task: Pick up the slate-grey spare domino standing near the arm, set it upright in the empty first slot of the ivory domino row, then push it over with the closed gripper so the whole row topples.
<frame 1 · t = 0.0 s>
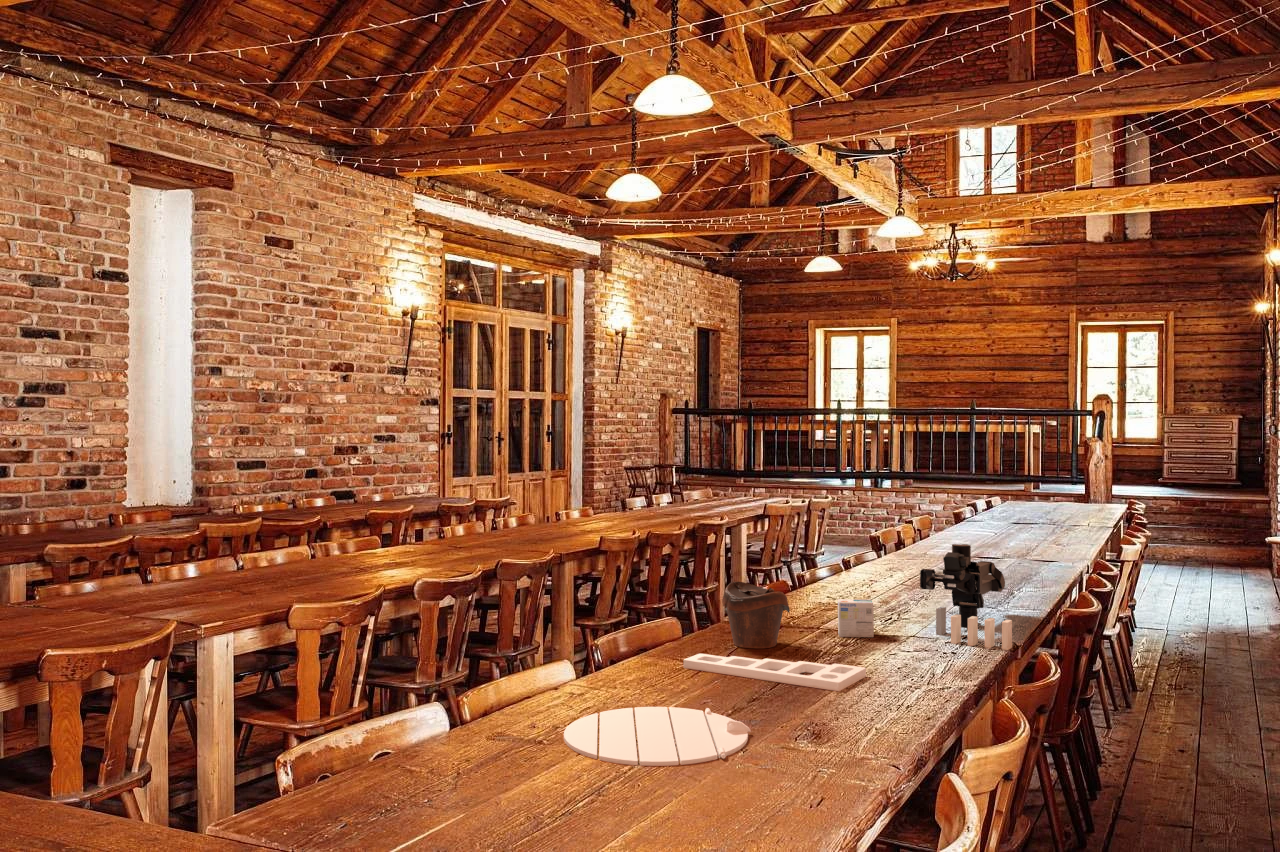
hand: (941, 584, 325), 17 cm above the table, tool horizontal, fingers open, 9 cm apart
domino 3: (972, 644, 318), on the table
domino 4: (989, 646, 316), on the table
light bulb box: (855, 635, 332), on the table
spare domino: (941, 633, 334), on the table
white grooved round board: (657, 738, 230), on the table
domino 2: (955, 642, 321), on the table
holder: (773, 674, 286), on the table
rusty bucket: (755, 645, 319), on the table
domino 5: (1006, 648, 313), on the table
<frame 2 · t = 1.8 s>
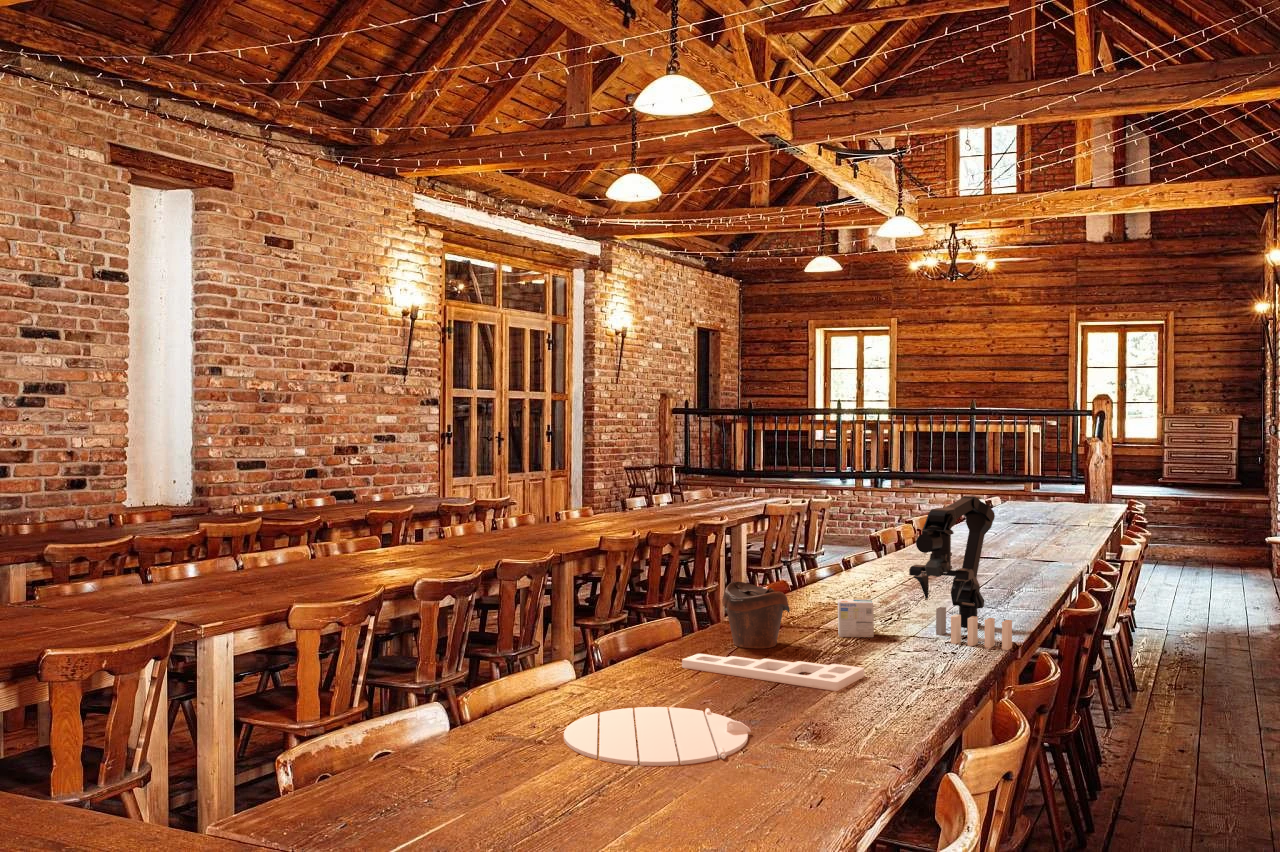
hand: (941, 599, 334), 10 cm above the table, tool pointing down, fingers open, 9 cm apart
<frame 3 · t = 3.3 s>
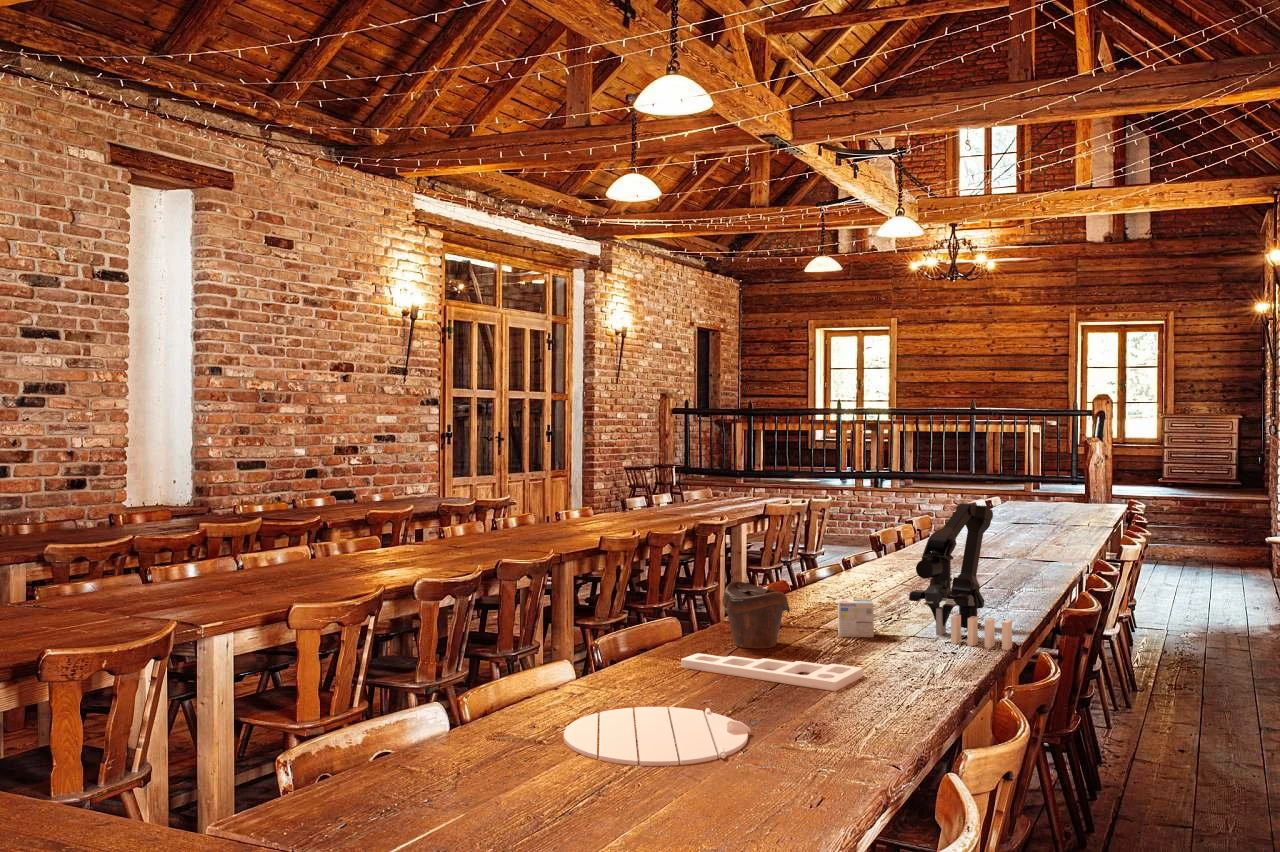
hand: (941, 625, 334), 3 cm above the table, tool pointing down, fingers closed on spare domino, 2 cm apart
spare domino: (941, 633, 334), on the table, touching gripper
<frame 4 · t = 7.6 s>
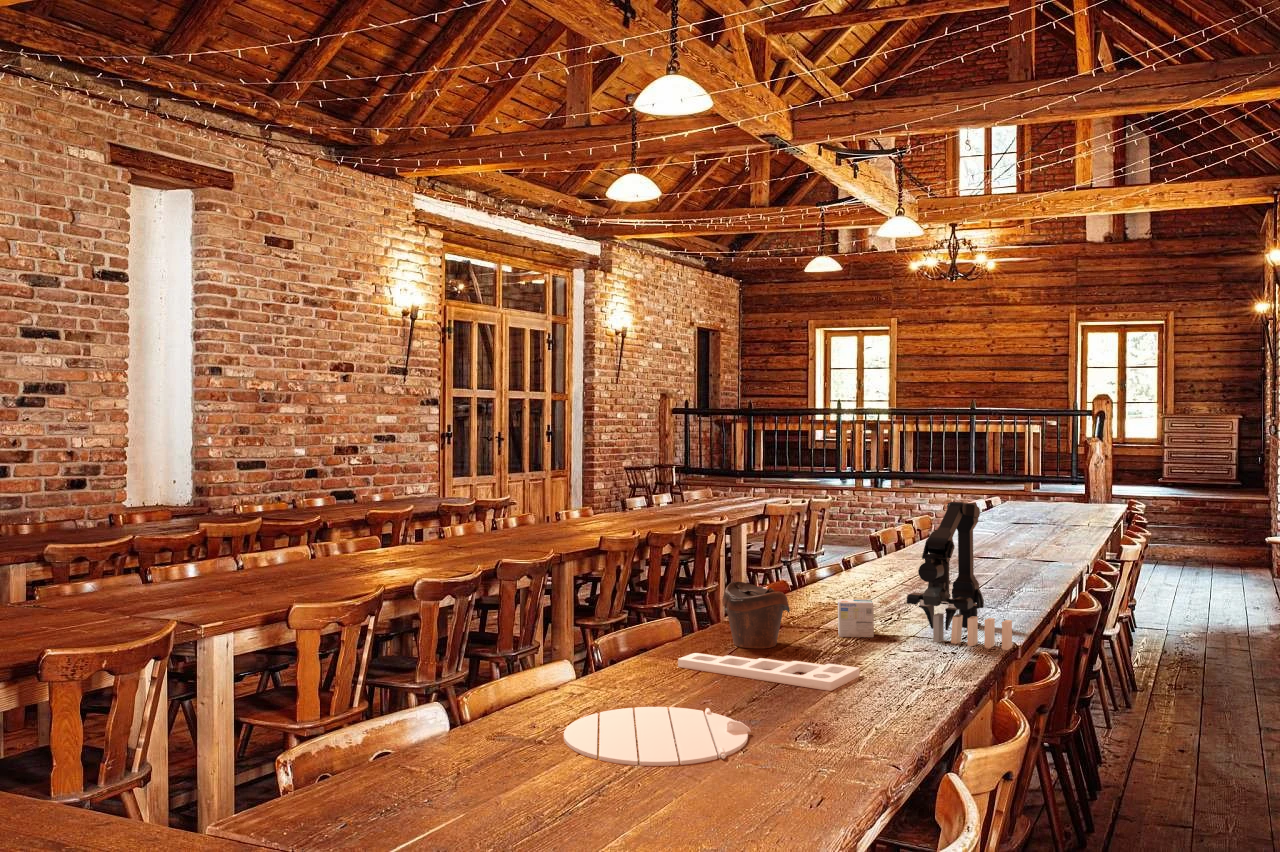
hand: (939, 629, 324), 3 cm above the table, tool pointing down, fingers open, 4 cm apart
spare domino: (938, 640, 323), on the table
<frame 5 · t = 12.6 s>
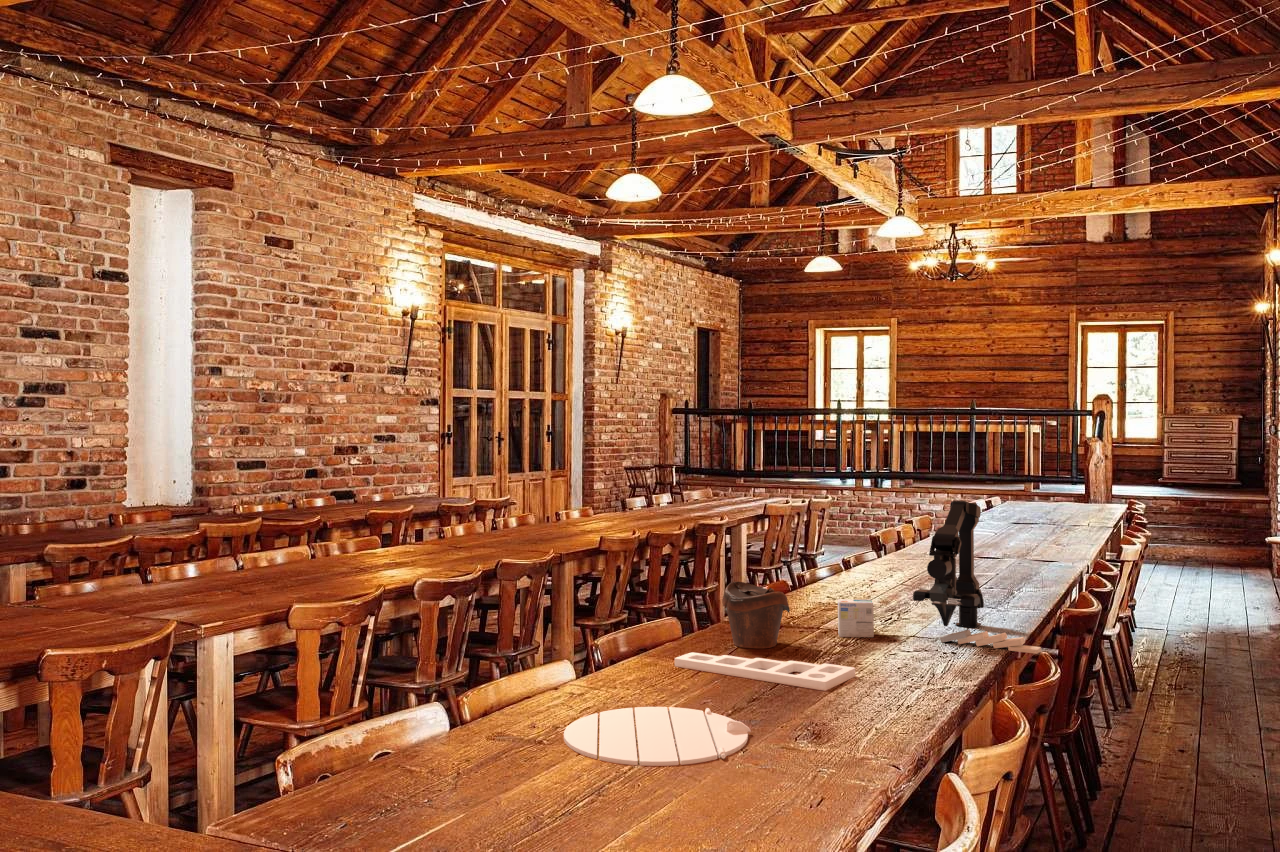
hand: (945, 626, 323), 5 cm above the table, tool pointing down, fingers closed
domino 3: (978, 642, 317), point 1 cm above the table, tilted 70°, touching domino 2, domino 4
domino 4: (995, 644, 315), point 1 cm above the table, tilted 77°, touching domino 3
spare domino: (942, 638, 323), point 1 cm above the table, tilted 72°, touching domino 2
domino 2: (960, 640, 321), point 1 cm above the table, tilted 71°, touching domino 3, spare domino
holder: (763, 673, 287), on the table
domino 5: (1010, 648, 312), on the table, tilted 90°
everything else where it was.
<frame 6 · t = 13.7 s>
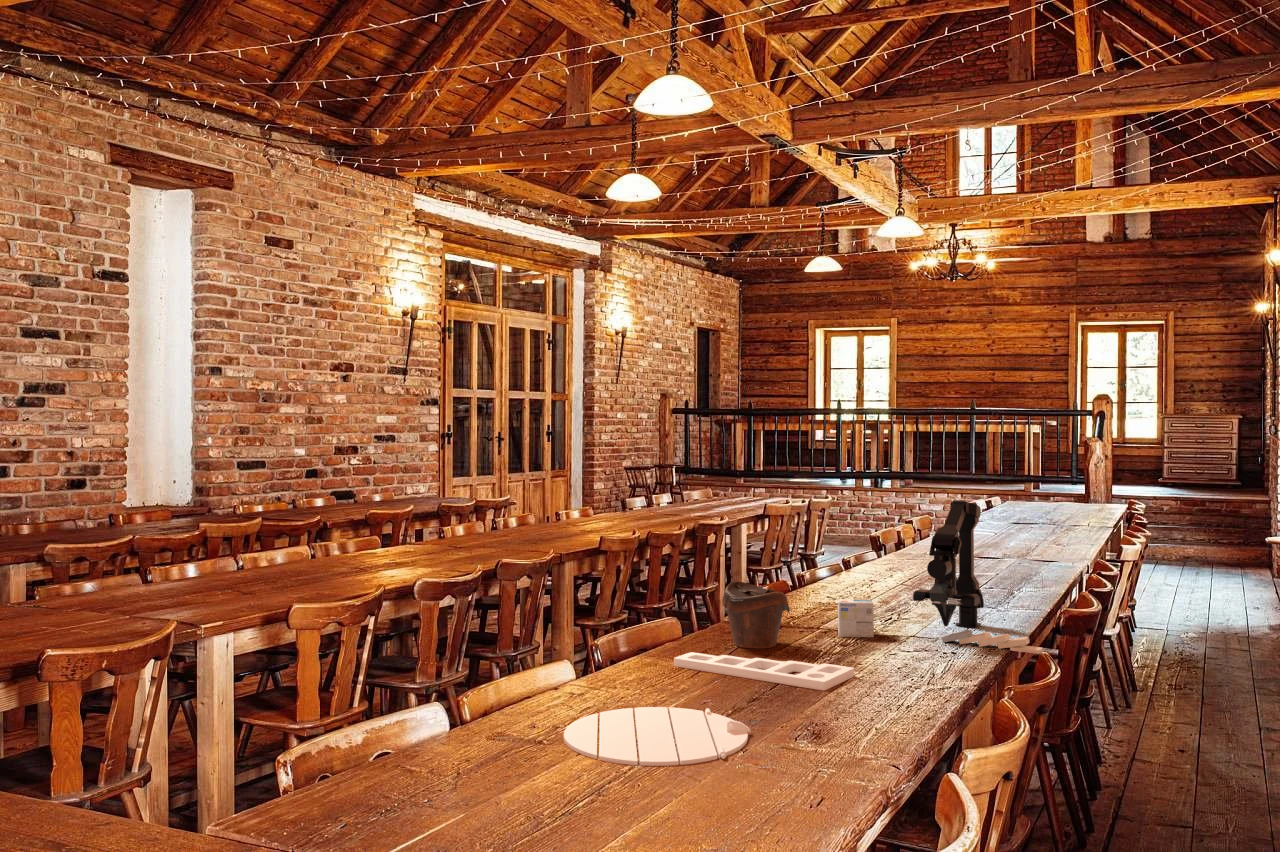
hand: (946, 626, 323), 4 cm above the table, tool pointing down, fingers closed
domino 4: (999, 644, 314), point 1 cm above the table, tilted 76°, touching domino 3, domino 5
domino 5: (1012, 648, 312), on the table, tilted 90°, touching domino 4
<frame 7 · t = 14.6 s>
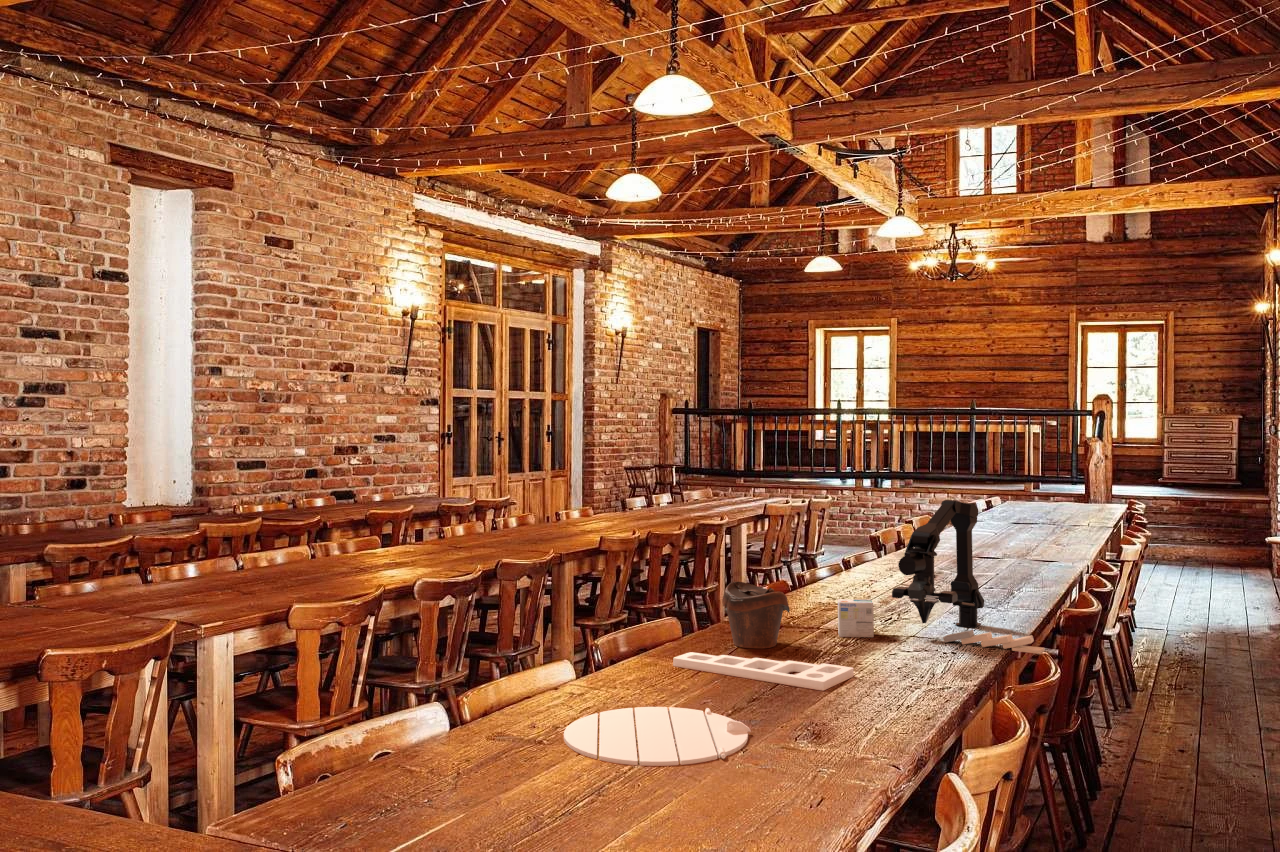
hand: (924, 623, 327), 5 cm above the table, tool pointing down, fingers closed
domino 4: (1004, 645, 314), point 1 cm above the table, tilted 72°, touching domino 3
domino 5: (1013, 648, 312), on the table, tilted 90°
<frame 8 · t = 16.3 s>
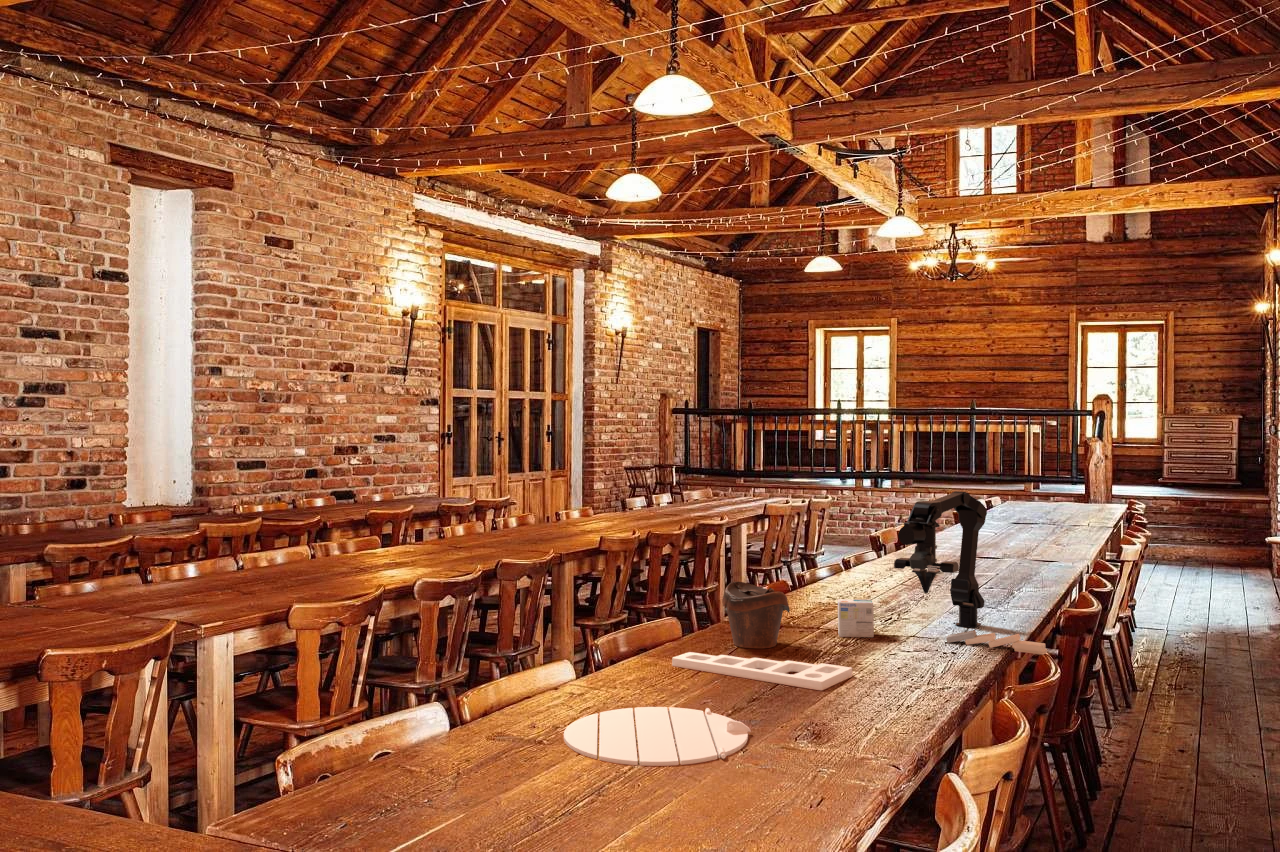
hand: (926, 593, 332), 13 cm above the table, tool pointing down, fingers closed
domino 3: (991, 644, 316), point 1 cm above the table, tilted 69°
domino 4: (1014, 643, 311), point 2 cm above the table, tilted 90°
spare domino: (948, 639, 322), point 1 cm above the table, tilted 74°, touching domino 2
domino 2: (967, 640, 320), point 1 cm above the table, tilted 76°, touching spare domino
at the end: domino 5 tilted 90°; spare domino tilted 73°; spare domino inside the target area (1.0 cm from its centre), point 0.8 cm above the table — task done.
